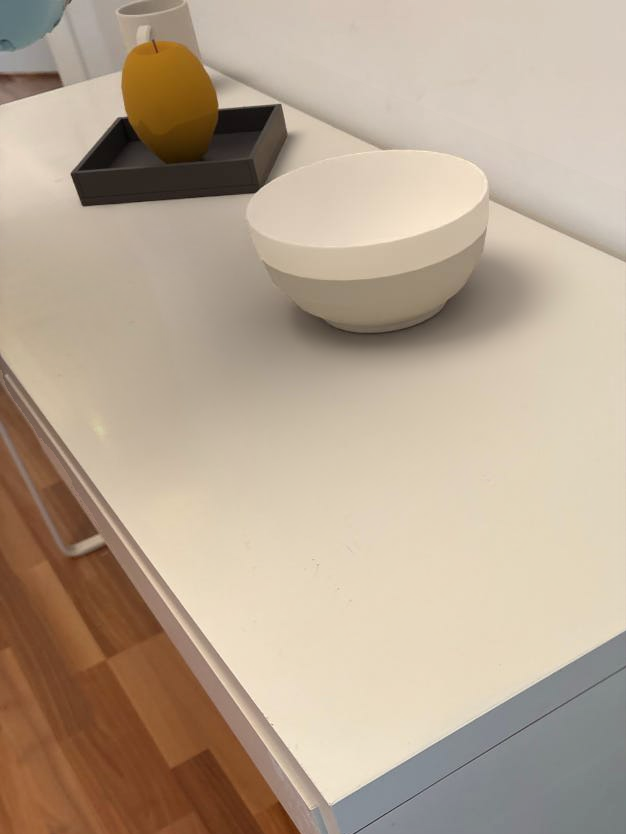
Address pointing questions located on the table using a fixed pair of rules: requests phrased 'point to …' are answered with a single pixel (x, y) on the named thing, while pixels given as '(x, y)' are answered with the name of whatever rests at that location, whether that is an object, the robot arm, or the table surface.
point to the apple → (169, 101)
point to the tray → (212, 175)
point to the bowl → (372, 235)
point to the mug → (157, 24)
